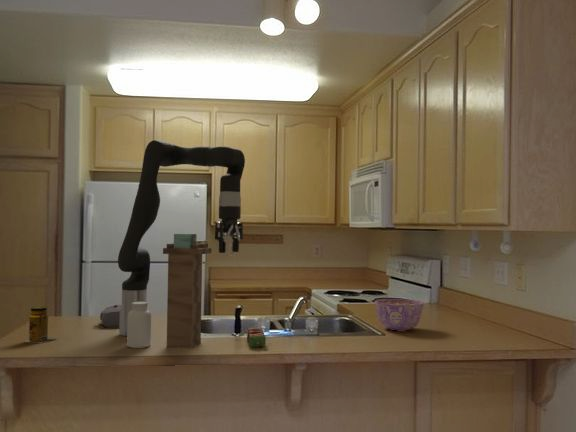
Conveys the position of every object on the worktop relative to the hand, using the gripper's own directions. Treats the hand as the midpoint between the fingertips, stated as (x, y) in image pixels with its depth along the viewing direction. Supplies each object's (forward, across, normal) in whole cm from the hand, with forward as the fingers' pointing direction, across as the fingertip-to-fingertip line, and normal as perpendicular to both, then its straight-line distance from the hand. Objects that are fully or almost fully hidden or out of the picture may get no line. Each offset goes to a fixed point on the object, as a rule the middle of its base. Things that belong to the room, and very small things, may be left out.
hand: (228, 252), depth 188 cm
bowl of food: (+33, -65, +43) cm, 85 cm away
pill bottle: (+33, +12, -28) cm, 45 cm away
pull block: (-1, -5, -18) cm, 19 cm away
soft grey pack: (+34, -18, -66) cm, 76 cm away
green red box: (+33, -11, +5) cm, 36 cm away
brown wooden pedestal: (+33, +1, -17) cm, 37 cm away
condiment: (+34, +22, -65) cm, 76 cm away
